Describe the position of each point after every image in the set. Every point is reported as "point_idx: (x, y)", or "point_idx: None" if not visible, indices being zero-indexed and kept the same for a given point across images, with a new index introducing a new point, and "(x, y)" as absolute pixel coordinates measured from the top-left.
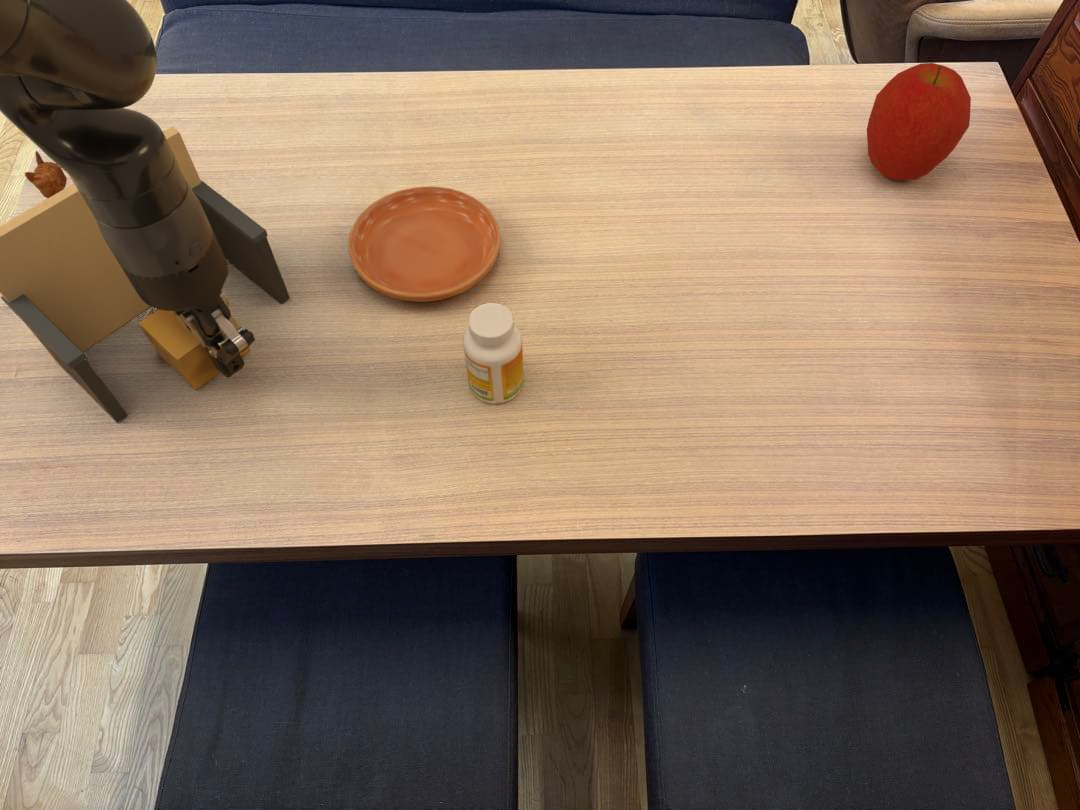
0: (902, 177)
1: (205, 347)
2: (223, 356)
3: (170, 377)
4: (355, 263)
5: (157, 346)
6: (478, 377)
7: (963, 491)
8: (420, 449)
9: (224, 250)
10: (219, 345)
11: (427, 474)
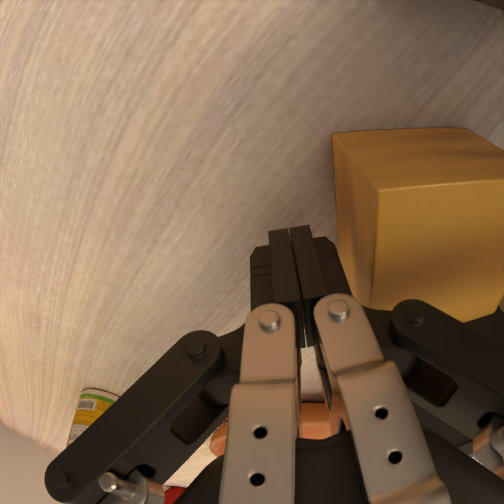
0: (165, 492)
1: (315, 308)
2: (142, 402)
3: (404, 109)
4: (320, 424)
5: (473, 153)
6: (77, 425)
7: (12, 424)
8: (44, 335)
9: (494, 322)
10: (106, 481)
11: (17, 324)
